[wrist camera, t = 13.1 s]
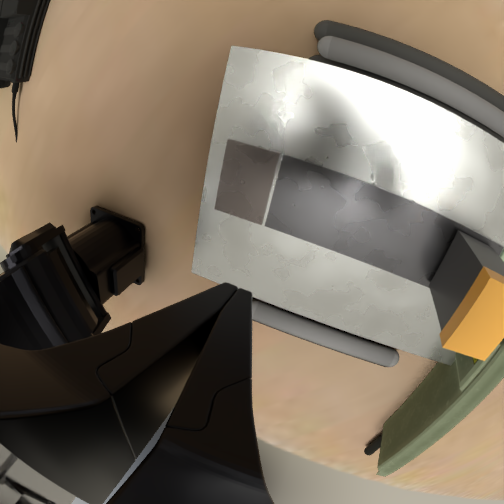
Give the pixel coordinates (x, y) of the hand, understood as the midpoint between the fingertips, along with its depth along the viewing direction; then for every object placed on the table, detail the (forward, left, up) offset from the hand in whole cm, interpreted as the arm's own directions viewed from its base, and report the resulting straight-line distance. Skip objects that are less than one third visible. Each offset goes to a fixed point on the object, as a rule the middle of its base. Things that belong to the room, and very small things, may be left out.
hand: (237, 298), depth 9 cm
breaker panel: (+6, 0, -12) cm, 13 cm away
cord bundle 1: (+5, +9, -12) cm, 16 cm away
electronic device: (-41, +7, -13) cm, 44 cm away
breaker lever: (+11, 0, -10) cm, 15 cm away
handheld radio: (+18, -14, -13) cm, 26 cm away
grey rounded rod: (+5, -9, -12) cm, 16 cm away
